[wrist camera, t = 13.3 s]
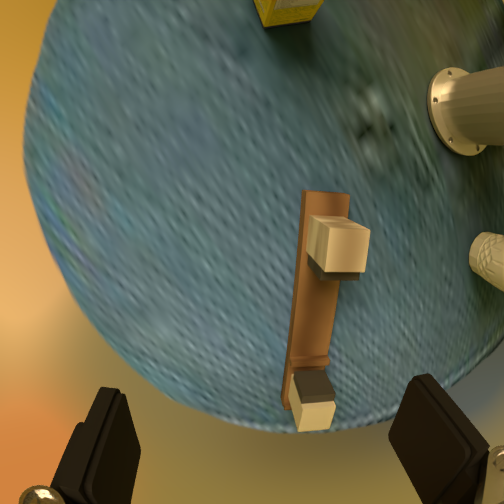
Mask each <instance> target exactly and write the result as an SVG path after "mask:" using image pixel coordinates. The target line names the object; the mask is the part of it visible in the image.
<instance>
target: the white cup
mask: <svg viewBox="0 0 504 504" xmlns="http://www.w3.org/2000/svg"><path fill="white" fill-rule="evenodd" d="M469 265H470V267H471V269H472V271H474V272H475V273H477V274H479V275H480V276H481V277H483V278H484V279H485V280H486V281H488V282H489V283H490V284H492V285H494V286H495V287H497V288H498V289H500V290H501V291H503V292H504V235H499V234H494V233H491V232H482V233H481V234H479V235H478V236H477V237H476V238H475V240H474V241H473V243H472V245H471V248H470V252H469Z"/></svg>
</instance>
